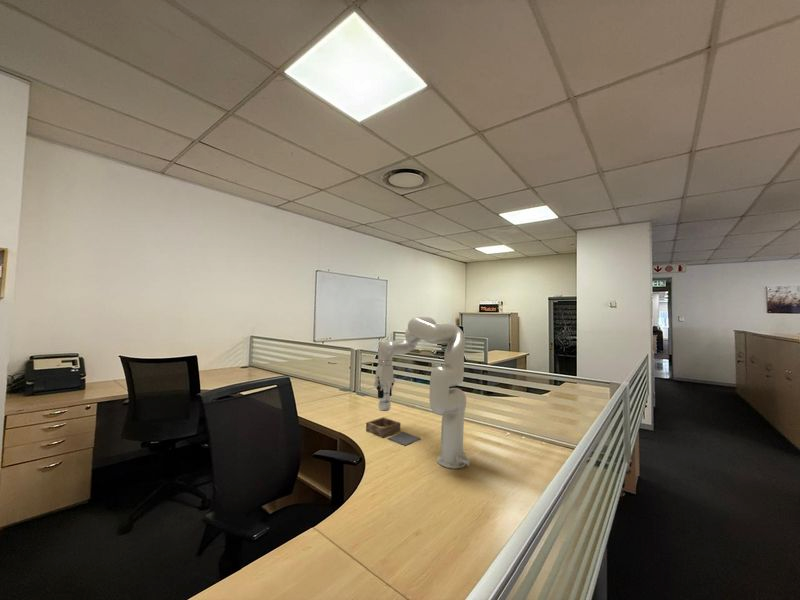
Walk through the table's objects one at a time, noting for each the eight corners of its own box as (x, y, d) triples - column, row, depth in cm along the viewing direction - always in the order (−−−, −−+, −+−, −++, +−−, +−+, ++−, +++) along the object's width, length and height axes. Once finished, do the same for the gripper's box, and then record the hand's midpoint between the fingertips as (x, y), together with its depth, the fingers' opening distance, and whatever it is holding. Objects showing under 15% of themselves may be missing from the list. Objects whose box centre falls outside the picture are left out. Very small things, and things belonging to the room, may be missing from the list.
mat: (420, 439, 165) (420, 438, 165) (405, 446, 156) (405, 444, 156) (403, 432, 173) (403, 431, 173) (387, 439, 164) (387, 437, 164)
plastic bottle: (383, 408, 179) (384, 371, 180) (393, 410, 175) (393, 373, 175) (375, 410, 174) (376, 373, 175) (385, 413, 170) (385, 374, 170)
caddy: (400, 431, 175) (400, 422, 175) (383, 438, 165) (383, 429, 165) (383, 425, 184) (383, 417, 184) (366, 431, 174) (366, 422, 174)
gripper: (391, 360, 184) (390, 392, 183) (368, 364, 171) (368, 398, 171) (400, 362, 179) (400, 395, 178) (378, 365, 166) (378, 401, 166)
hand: (384, 396), depth 175 cm, fingers closed on plastic bottle, 6 cm apart
